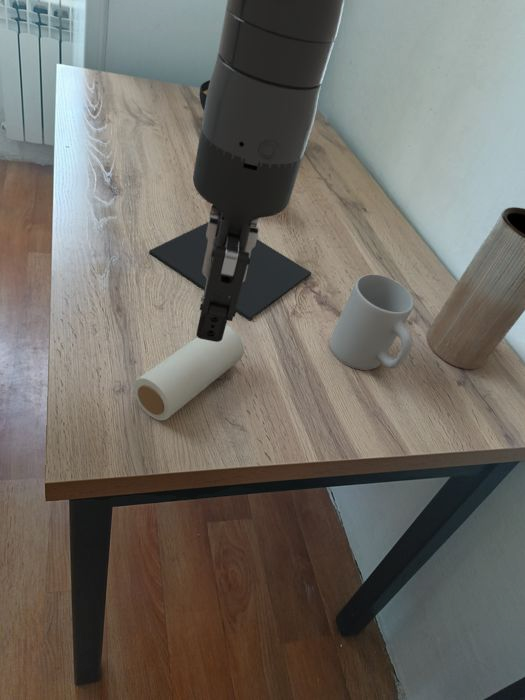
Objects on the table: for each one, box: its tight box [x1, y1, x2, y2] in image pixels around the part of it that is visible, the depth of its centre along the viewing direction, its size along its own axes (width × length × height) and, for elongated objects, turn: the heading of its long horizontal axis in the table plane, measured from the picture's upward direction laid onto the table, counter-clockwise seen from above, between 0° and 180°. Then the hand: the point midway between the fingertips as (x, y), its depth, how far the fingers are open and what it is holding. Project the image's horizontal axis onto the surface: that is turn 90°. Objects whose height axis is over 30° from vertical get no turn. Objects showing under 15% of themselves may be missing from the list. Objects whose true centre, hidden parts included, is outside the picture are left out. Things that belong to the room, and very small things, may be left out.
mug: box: [328, 273, 415, 371], centre depth 75 cm, size 12×8×11 cm
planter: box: [426, 206, 525, 370], centre depth 79 cm, size 10×10×23 cm
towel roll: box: [132, 324, 245, 421], centre depth 65 cm, size 6×14×6 cm, turn 145°
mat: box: [148, 221, 312, 321], centre depth 87 cm, size 20×18×1 cm
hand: (213, 306), depth 49 cm, fingers open, 8 cm apart
